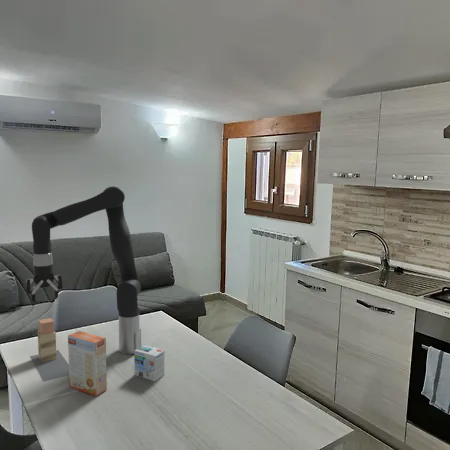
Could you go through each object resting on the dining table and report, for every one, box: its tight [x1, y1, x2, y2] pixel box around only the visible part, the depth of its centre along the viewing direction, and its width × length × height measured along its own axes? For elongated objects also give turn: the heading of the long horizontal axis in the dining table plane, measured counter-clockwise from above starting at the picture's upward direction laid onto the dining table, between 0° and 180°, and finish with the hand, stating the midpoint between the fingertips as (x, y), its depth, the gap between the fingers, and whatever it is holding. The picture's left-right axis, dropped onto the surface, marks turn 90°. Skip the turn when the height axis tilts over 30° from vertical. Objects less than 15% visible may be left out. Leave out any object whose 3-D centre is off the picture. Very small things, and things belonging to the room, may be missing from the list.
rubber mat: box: [29, 349, 69, 382], centre depth 181 cm, size 26×12×1 cm, turn 35°
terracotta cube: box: [38, 317, 55, 335], centre depth 185 cm, size 5×5×5 cm
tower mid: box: [37, 330, 57, 349], centre depth 186 cm, size 6×6×6 cm
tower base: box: [37, 344, 57, 362], centre depth 186 cm, size 6×6×6 cm
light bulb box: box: [133, 344, 166, 382], centre depth 174 cm, size 11×7×11 cm, turn 62°
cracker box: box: [67, 330, 108, 397], centre depth 162 cm, size 14×6×21 cm, turn 62°
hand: (44, 300), depth 183 cm, fingers open, 8 cm apart
